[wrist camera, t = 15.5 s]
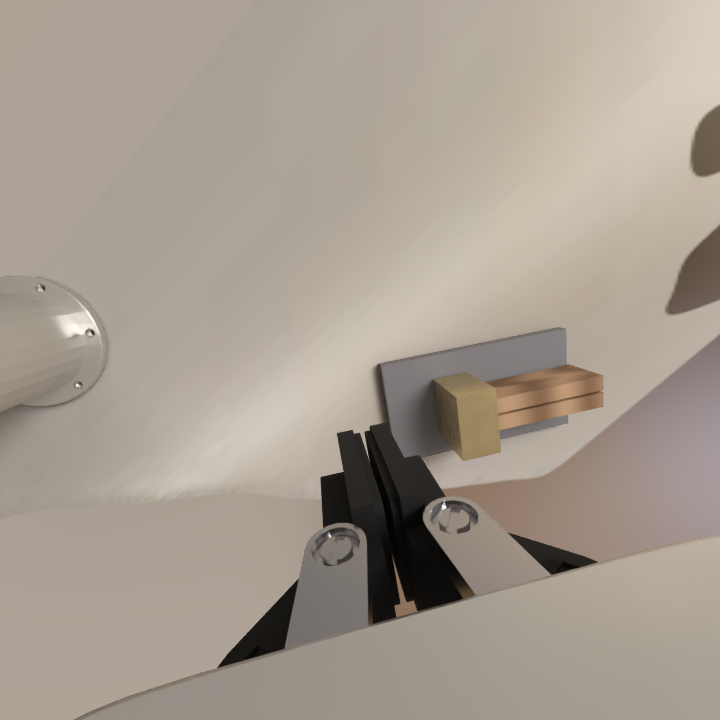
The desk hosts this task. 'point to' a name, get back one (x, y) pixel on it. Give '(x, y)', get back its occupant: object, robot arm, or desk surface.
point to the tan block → (468, 415)
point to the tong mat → (484, 360)
